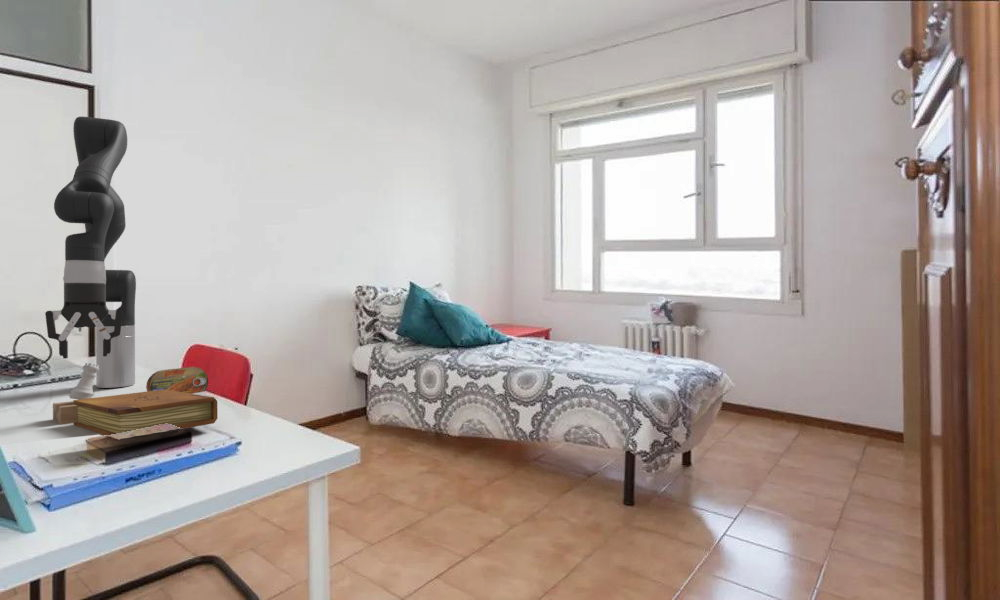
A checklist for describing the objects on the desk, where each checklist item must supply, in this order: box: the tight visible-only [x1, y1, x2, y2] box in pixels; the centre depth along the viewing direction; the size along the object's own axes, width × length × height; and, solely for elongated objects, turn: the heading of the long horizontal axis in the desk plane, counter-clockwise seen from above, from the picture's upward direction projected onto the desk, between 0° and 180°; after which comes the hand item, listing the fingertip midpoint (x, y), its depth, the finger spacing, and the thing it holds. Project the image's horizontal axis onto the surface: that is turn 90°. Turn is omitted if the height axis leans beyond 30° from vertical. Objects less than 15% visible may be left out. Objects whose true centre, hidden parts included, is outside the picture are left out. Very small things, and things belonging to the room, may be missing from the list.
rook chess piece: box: [68, 362, 99, 400], centre depth 127 cm, size 4×4×8 cm
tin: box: [145, 366, 209, 394], centre depth 151 cm, size 15×3×8 cm, turn 144°
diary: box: [72, 390, 218, 437], centre depth 120 cm, size 23×19×6 cm
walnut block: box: [52, 400, 78, 425], centre depth 125 cm, size 8×8×4 cm
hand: (85, 357), depth 125 cm, fingers open, 6 cm apart
